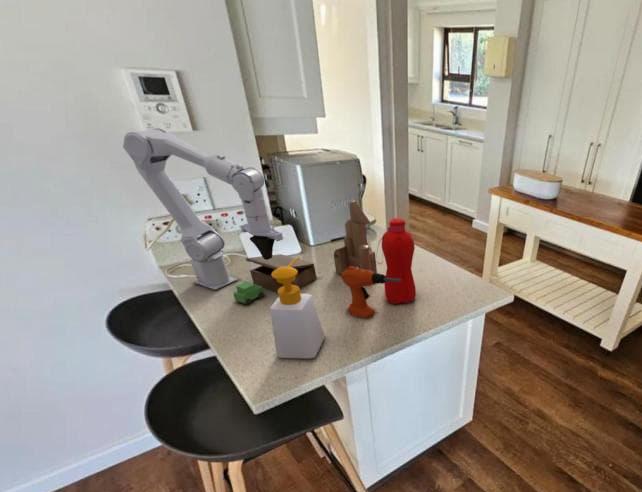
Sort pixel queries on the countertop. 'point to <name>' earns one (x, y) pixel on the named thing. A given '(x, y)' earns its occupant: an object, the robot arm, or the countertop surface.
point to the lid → (280, 262)
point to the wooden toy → (355, 244)
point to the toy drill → (362, 289)
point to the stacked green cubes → (248, 292)
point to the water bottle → (398, 262)
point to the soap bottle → (294, 318)
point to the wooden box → (265, 279)
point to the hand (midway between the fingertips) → (268, 258)
